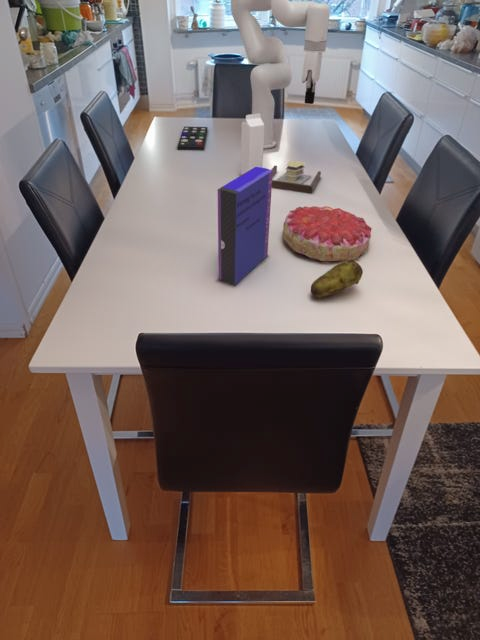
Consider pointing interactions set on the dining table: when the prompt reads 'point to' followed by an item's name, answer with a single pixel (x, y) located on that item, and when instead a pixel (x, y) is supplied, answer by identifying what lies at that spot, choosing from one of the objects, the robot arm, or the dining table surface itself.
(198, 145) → the remote control
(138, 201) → the dining table surface
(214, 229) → the dining table surface
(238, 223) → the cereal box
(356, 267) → the green pickle
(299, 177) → the stacked layers on plate
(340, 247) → the cake
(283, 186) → the sponge rest
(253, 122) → the milk
